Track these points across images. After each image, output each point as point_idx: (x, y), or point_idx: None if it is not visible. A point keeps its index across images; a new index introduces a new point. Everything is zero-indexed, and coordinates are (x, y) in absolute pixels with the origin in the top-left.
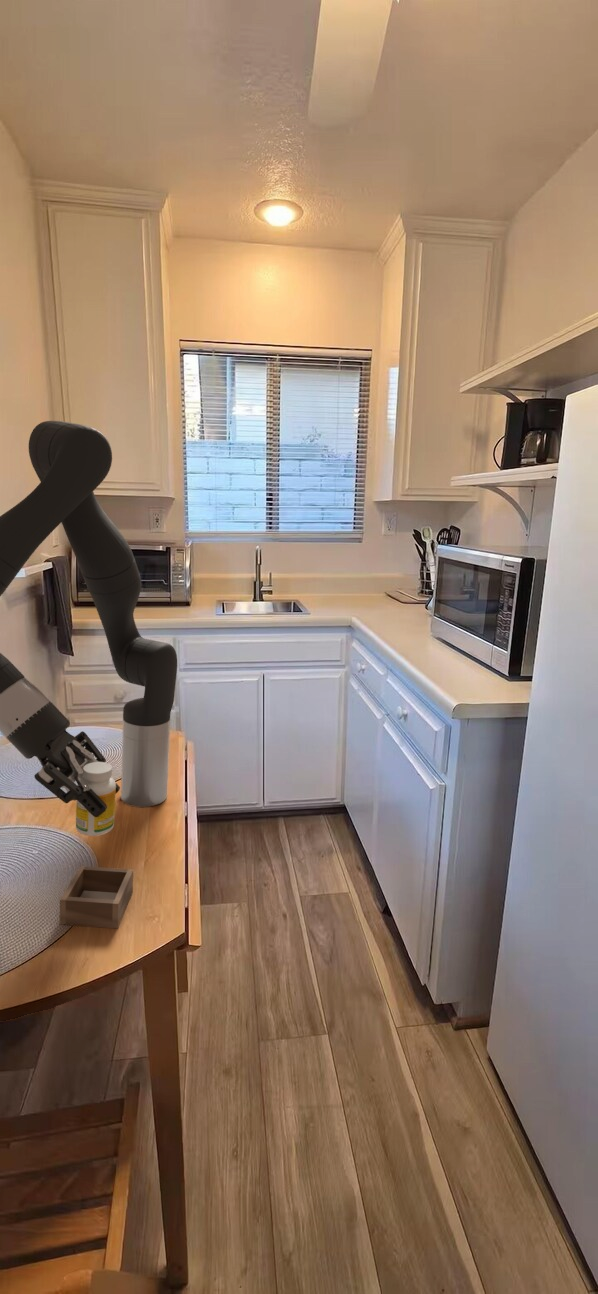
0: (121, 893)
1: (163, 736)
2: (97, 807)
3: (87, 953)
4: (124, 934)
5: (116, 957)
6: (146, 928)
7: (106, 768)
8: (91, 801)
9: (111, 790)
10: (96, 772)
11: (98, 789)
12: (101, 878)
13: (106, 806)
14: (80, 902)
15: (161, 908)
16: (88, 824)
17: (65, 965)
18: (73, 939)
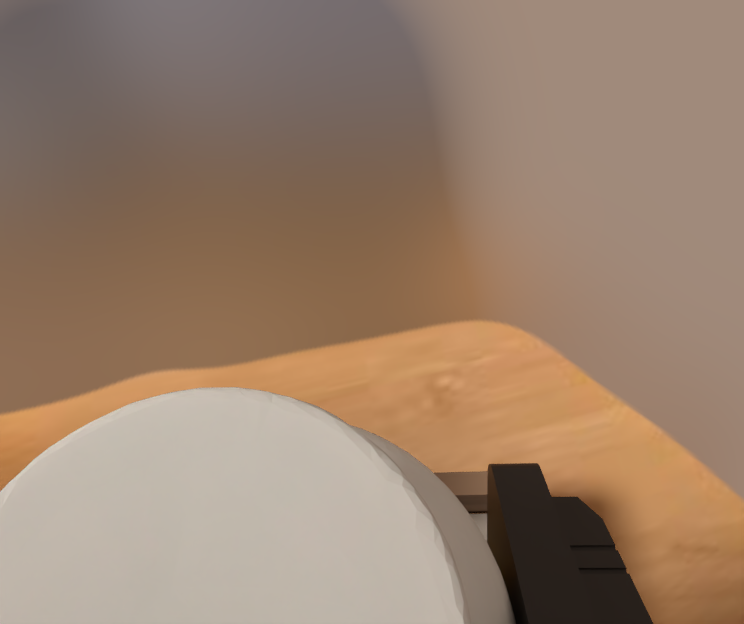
0: (466, 477)
1: None
2: (600, 526)
3: (654, 557)
4: (536, 461)
5: (642, 455)
6: (494, 400)
7: (202, 471)
8: (632, 593)
9: (367, 431)
10: (415, 600)
11: (473, 552)
12: None
13: (504, 465)
14: None
15: (392, 378)
16: None
17: (730, 615)
18: None
